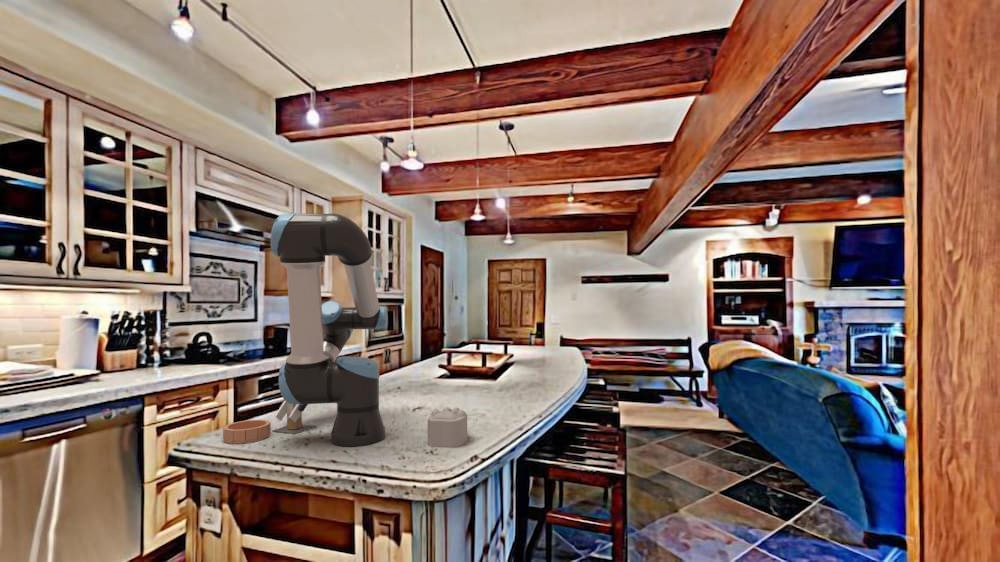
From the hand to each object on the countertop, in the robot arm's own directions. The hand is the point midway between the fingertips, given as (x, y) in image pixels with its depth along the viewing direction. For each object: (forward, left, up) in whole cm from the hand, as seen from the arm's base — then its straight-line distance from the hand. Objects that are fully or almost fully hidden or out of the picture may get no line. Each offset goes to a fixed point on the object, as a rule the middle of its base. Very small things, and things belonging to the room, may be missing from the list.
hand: (285, 418), depth 145 cm
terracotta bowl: (+6, +8, -4) cm, 11 cm away
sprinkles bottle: (0, -4, -4) cm, 5 cm away
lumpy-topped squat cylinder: (-52, -9, -4) cm, 53 cm away
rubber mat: (0, -4, -4) cm, 6 cm away
